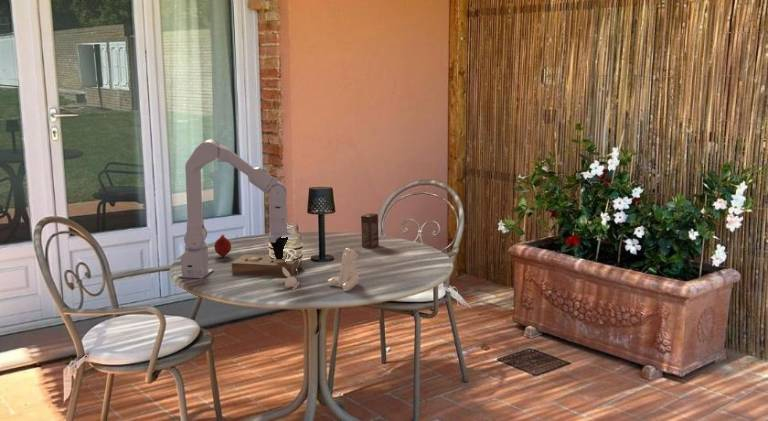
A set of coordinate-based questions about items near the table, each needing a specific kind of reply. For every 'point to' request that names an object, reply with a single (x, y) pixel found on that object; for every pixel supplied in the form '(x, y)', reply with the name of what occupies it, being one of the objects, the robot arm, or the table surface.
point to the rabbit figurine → (287, 280)
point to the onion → (222, 246)
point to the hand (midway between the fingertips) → (279, 258)
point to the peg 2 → (278, 260)
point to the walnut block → (262, 266)
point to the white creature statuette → (346, 272)
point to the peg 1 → (254, 259)
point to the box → (369, 230)
